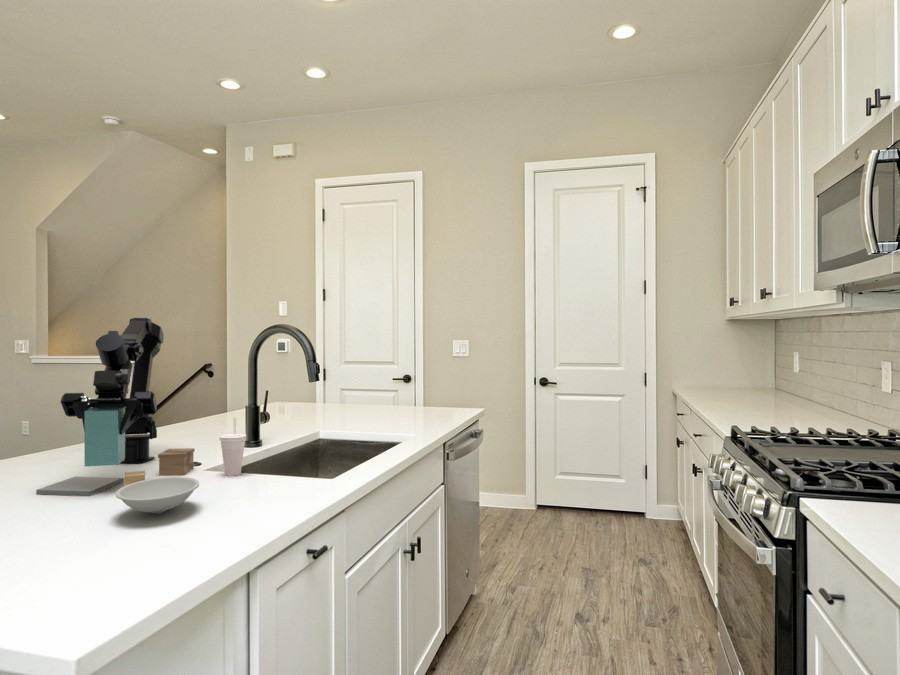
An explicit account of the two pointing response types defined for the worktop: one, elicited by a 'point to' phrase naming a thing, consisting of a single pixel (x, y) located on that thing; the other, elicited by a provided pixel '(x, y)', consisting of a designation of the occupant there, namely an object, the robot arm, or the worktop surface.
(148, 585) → the worktop surface
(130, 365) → the robot arm
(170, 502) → the dish
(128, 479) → the block
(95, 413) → the tall teal box
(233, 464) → the smoothie
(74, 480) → the plate
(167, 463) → the walnut box
